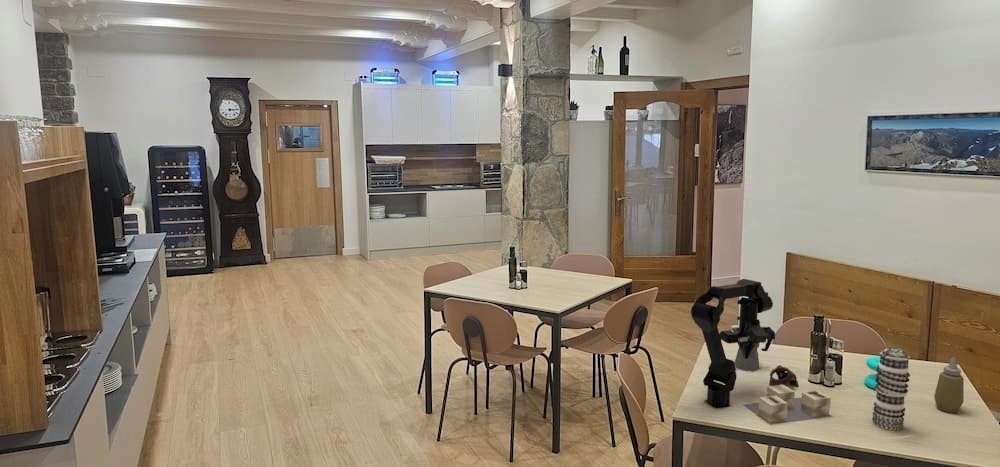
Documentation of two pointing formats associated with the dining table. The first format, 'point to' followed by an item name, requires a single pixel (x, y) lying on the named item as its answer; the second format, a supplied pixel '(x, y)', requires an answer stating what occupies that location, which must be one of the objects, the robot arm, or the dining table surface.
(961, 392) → the squeeze bottle
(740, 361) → the coffeepot
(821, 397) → the numbered block seven
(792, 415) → the charcoal mat
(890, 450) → the dining table surface
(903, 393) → the striped patterned cylinder
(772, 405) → the numbered block one
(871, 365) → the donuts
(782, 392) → the plain block
